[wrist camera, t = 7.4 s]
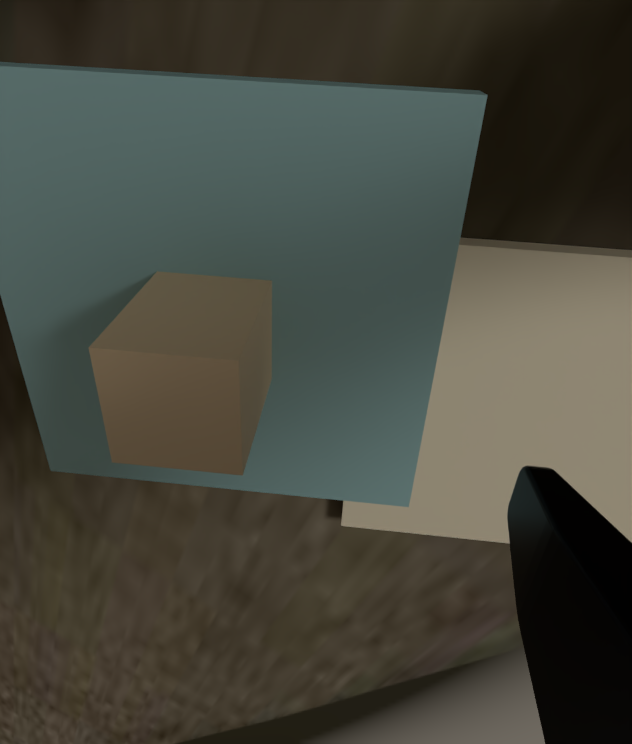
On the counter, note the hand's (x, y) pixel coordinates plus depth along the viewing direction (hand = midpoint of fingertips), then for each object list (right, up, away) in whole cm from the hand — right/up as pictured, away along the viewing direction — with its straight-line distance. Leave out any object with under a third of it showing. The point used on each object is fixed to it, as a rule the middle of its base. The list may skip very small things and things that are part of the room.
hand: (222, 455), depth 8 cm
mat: (+10, 0, +14) cm, 17 cm away
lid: (-1, +3, +7) cm, 8 cm away
